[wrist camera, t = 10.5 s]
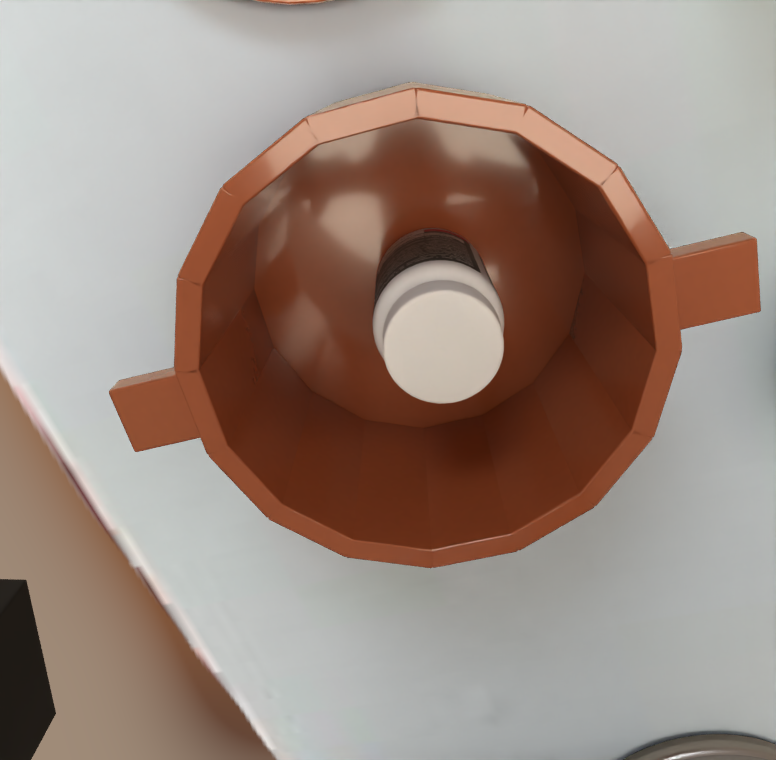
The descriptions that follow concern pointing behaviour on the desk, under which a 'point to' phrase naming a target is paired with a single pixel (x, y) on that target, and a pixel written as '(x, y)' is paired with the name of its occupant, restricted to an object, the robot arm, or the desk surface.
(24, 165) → the desk surface
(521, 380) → the pot
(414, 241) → the pill bottle
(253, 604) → the desk surface
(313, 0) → the lid
